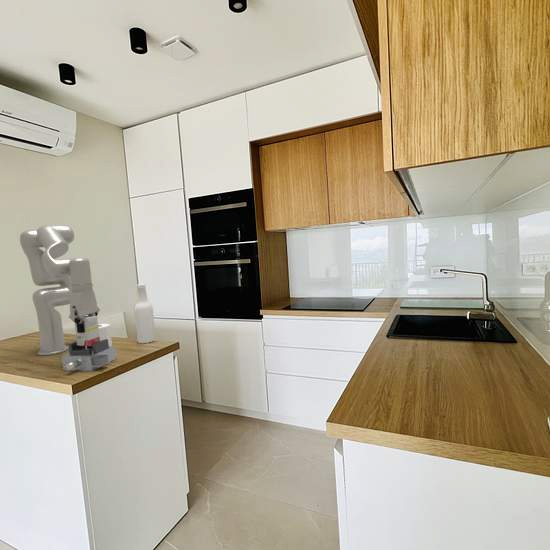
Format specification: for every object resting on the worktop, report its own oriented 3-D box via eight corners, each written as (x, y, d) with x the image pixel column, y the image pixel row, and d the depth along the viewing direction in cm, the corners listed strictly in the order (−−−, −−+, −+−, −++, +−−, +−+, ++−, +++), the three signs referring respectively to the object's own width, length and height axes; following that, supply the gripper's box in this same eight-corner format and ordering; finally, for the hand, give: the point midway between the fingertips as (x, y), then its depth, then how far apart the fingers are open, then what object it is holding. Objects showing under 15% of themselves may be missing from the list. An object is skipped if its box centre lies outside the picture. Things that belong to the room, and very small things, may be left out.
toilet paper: (115, 349, 158) (112, 325, 157) (91, 355, 151) (88, 329, 150) (109, 345, 166) (106, 322, 165) (86, 351, 159) (83, 326, 158)
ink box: (101, 343, 138) (97, 315, 137) (90, 346, 134) (87, 318, 133) (87, 341, 142) (84, 315, 141) (76, 345, 137) (73, 317, 136)
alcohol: (144, 344, 163) (138, 285, 161) (134, 342, 168) (128, 285, 166) (159, 339, 171) (153, 283, 168) (148, 338, 176) (143, 283, 173)
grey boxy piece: (53, 374, 129) (50, 349, 128) (90, 358, 147) (87, 336, 146) (91, 375, 125) (88, 350, 124) (123, 359, 143) (121, 336, 142)
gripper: (90, 285, 145) (95, 325, 146) (56, 291, 128) (62, 336, 130) (104, 285, 143) (109, 325, 145) (72, 290, 126) (77, 336, 128)
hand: (87, 330), depth 137 cm, fingers closed on ink box, 5 cm apart
